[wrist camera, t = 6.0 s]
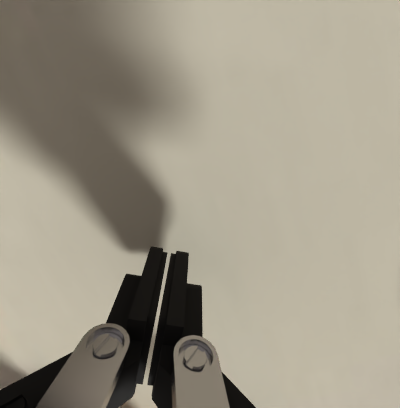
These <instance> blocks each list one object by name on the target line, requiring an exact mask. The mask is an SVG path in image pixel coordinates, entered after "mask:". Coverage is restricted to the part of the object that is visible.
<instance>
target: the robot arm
mask: <svg viewBox="0 0 400 408" xmlns="http://www.w3.org/2000/svg"><path fill="white" fill-rule="evenodd" d="M188 256H189V253H186V252H180V251H176V254H172V253H171V257H170V263H169V268H168V273H167V278H166V284H165V289H164V294H163V300H162V305H161V311H160V316H159V322H158V328H157V333H156V339H155V345H154V350H153V356H152V362H151V367H150V373H149V379H148V384H147V385H152V386H153V390H152V400H153V401H154V403H155V404H156V406H157V407H158V408H256V407H255V406H254V405H253V404H252V403H251V402H250V401H249V400H248V399H247V398H246V397H245V396H244V395H243V394H242V393H241V392H240V391H239V389H238V388H237V387H236V386H235V385H234V384H233V383H232V382H231V381H230V380H229V379H228V378H227V377H226V376H225V375H224V374H223V373H222V372H221V367H220V363H219V358H218V354H217V352H216V349H215V347H214V346H213V345H212V344H211V343H210V342H209V341H208V340H207V339H205V338H203V337H202V287H201V286H200V285H194V284H188V283H187V272H188ZM166 257H167V253H166V252H163V249H162V248H157V247H151V248H150V251H149V254H148V257H147V260H146V263H145V267H144V270H143V273H142V276H137V275H131V274H126V275H125V278H124V280H123V282H122V285H121V287H120V290H119V292H118V295H117V297H116V300H115V302H114V305H113V307H112V310H111V312H110V315H109V317H108V320H107V322H106V324H100V325H98V326H95V327H93V328H92V329H90V330H89V331H88V332H87V333H86V334H85V335H84V336H83V338H82V339H81V341H80V342H79V344H78V345H77V347H76V348H75V350H74V351H73V352H72V353H70V354H68V355H66V356H64V357H62V358H60V359H59V360H57V361H55V362H53V363H51V364H49V365H47V366H45V367H43V368H41V369H40V370H38V371H36V372H34V373H32V374H30V375H28V376H26V377H24V378H22V379H21V380H19V381H17V382H15V383H13V384H11V385H9V386H7V387H5V388H3V389H2V390H0V408H121V405H123V404H124V403H125V402H127V401H128V400H129V399H130V398H132V397H133V394H134V393H135V388H136V384H143V379H144V374H145V369H146V363H147V358H148V353H149V348H150V343H151V338H152V333H153V327H154V322H155V317H156V312H157V307H158V302H159V296H160V290H161V285H162V279H163V274H164V268H165V263H166Z"/></svg>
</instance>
